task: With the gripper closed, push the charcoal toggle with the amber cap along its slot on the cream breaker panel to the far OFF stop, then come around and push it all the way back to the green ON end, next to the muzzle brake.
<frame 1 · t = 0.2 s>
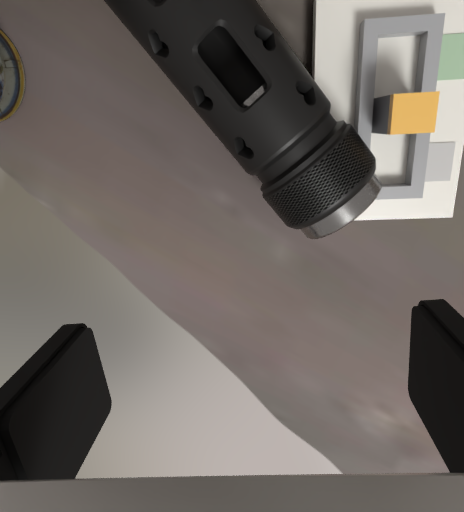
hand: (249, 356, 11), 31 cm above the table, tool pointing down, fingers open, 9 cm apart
breaker panel: (383, 115, 36), on the table
breaker lever: (401, 114, 31), point 5 cm above the table, slide at 0.0 cm
muzzle brake: (247, 89, 36), on the table, touching breaker panel
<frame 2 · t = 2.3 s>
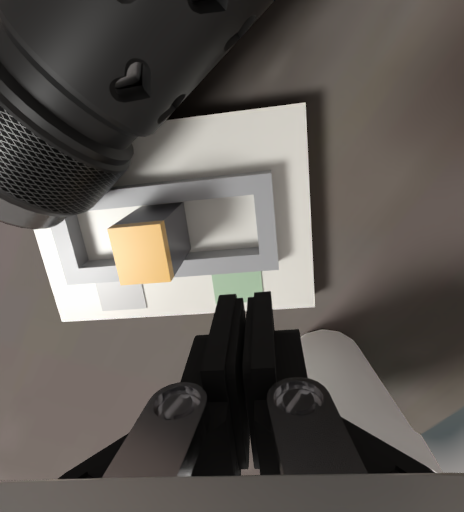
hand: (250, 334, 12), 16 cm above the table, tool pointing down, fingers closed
breaker panel: (173, 220, 28), on the table
breaker lever: (154, 240, 23), point 5 cm above the table, slide at 0.0 cm
muzzle brake: (187, 10, 23), on the table, touching breaker panel
foam cup: (323, 360, 31), on the table
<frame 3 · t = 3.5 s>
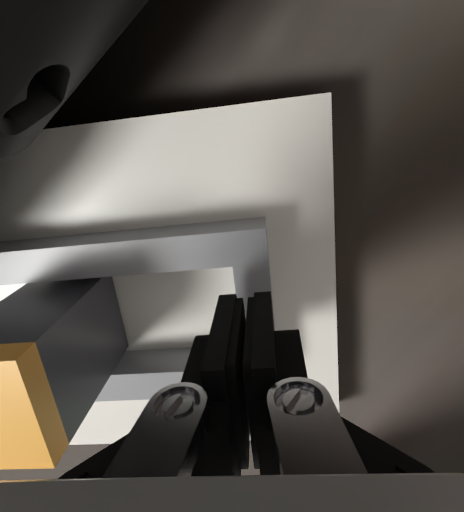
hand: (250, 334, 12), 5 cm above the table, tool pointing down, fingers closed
breaker panel: (105, 289, 17), on the table
breaker lever: (44, 353, 12), point 5 cm above the table, slide at 0.0 cm
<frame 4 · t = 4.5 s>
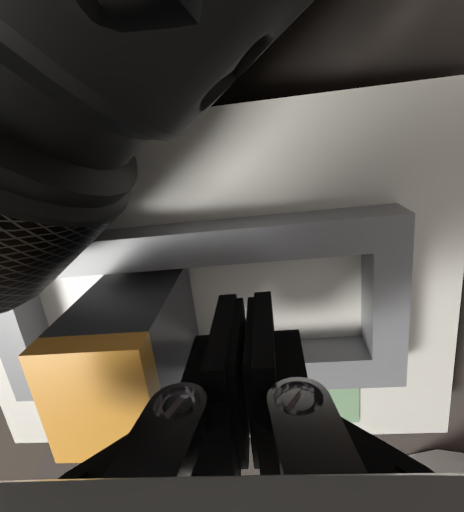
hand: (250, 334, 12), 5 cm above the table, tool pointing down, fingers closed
breaker panel: (202, 280, 16), on the table
breaker lever: (132, 345, 12), point 5 cm above the table, slide at 1.5 cm, touching gripper
foam cup: (432, 491, 20), on the table
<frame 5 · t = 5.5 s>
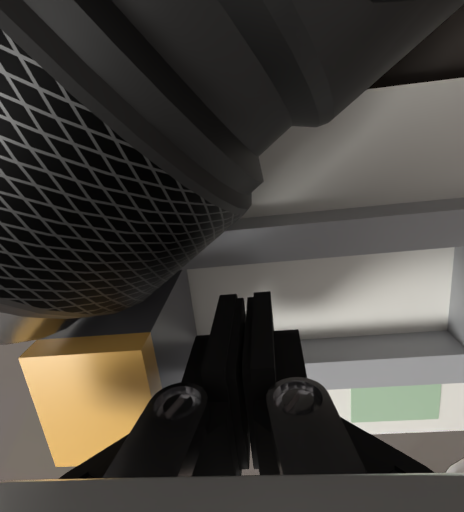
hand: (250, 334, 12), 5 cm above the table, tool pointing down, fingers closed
breaker panel: (275, 276, 16), on the table
breaker lever: (132, 347, 12), point 5 cm above the table, slide at 4.9 cm, touching breaker panel, gripper
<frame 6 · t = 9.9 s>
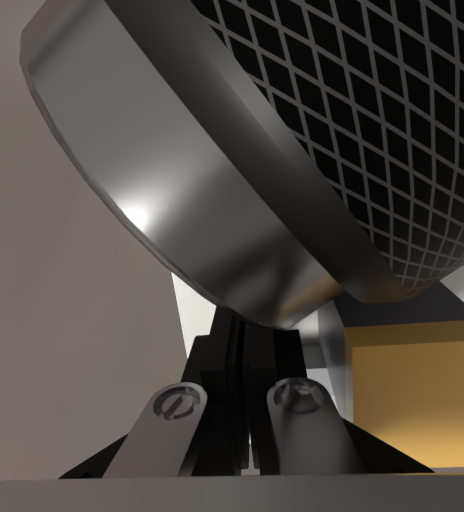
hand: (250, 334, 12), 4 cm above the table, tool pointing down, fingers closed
breaker panel: (424, 267, 15), on the table
breaker lever: (382, 338, 11), point 5 cm above the table, slide at 3.1 cm, touching gripper
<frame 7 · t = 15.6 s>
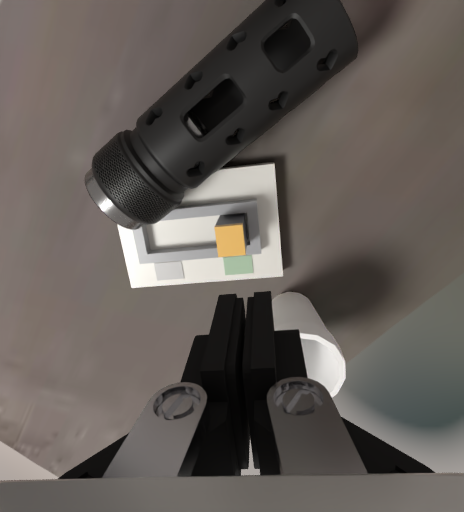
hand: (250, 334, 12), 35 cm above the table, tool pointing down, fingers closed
breaker panel: (200, 226, 47), on the table
breaker lever: (232, 233, 42), point 5 cm above the table, slide at -4.5 cm
muzzle brake: (217, 118, 42), on the table, touching breaker panel
foam cup: (290, 311, 51), on the table
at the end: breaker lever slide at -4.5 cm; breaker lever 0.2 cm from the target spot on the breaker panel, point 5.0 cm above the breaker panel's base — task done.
